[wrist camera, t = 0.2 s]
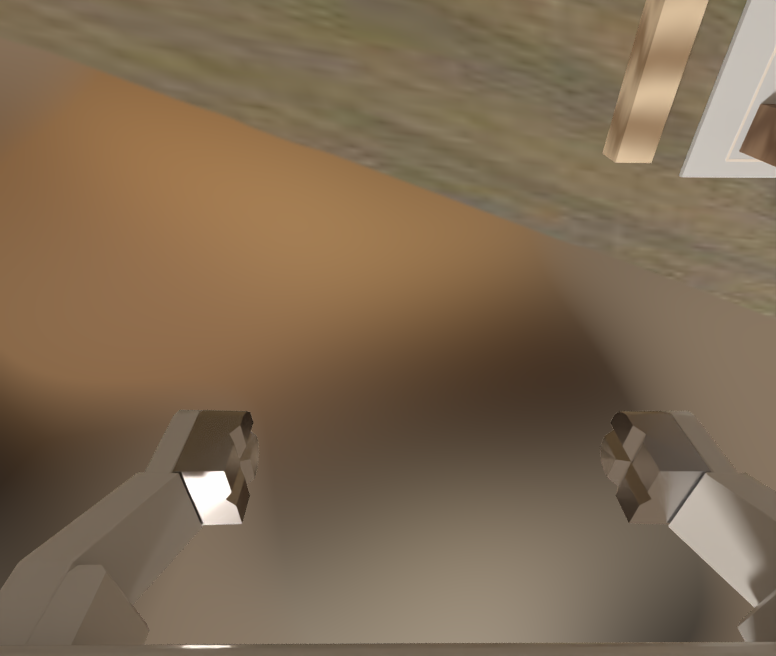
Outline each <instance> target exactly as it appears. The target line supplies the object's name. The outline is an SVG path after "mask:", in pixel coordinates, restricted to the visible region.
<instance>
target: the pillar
mask: <svg viewBox="0 0 776 656" xmlns="http://www.w3.org/2000/svg"><path fill="white" fill-rule="evenodd" d="M739 152H741V153H744V154H746V155H748V156H751V157H753V158H756V159H758V160H760V161H763V162H765V163H767V164H770V165H772V166H775V167H776V104H760V106H759V108H758V110H757V113H756V115H755V117H754V119H753V121H752V124H751V126H750V128H749V130H748V132H747V135H746V137H745V139H744V141H743V143H742V146H741V148H740V150H739Z"/></svg>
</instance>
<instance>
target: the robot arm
mask: <svg viewBox="0 0 776 656" xmlns="http://www.w3.org/2000/svg"><path fill="white" fill-rule="evenodd" d="M252 425H253V420H252V416H251V413H250V412H248V411H216V410H215V411H214V410H179V411H178V412H177V413H176V414H175V415H174V416H173V418H172V420H171V422H170V424H169V426H168V428H167V430H166V431H165V434H164V435H163V437H162V439H161V441H160V443H159V445H158V447H157V449H156V451H155V453H154V455H153V457H152V459H151V461H150V463H149V465H148V466H147V468H146V470H145V472H144V473H137V474H135V475H134V476H132V477H131V478H130V479H128V480H127V481H126V482H124V483H123V484H122V485H121V486H119V487H118V488H116V489H115V490H114V491H112V492H111V493H110V494H109V495H107V496H106V497H105V498H103V499H102V500H101V501H99V502H98V503H97V504H95V505H94V506H93V507H91V508H90V509H89V510H87V511H86V512H85V513H83V514H82V515H81V516H79V517H78V518H77V519H75V520H74V521H73V522H72V523H70V524H69V525H68V526H66V527H65V528H63V529H62V530H61V531H59V532H58V533H57V534H56V535H54V536H53V537H52V538H50V539H49V540H48V541H46V542H45V543H44V544H42V545H41V546H40V547H38V548H37V549H36V550H34V551H33V552H32V553H31V554H29V555H28V556H26V557H25V558H24V559H23V560H21V561H20V562H19V563H18V564H17V566H16V567H15V569H14V570H13V572H12V573H11V575H10V576H9V578H8V579H7V581H6V582H5V584H4V586H3V587H2V588H1V590H0V656H776V492H775V491H774V490H772V489H771V488H769V487H768V486H766V485H764V484H763V483H761V482H760V481H758V480H756V479H755V478H753V477H752V476H750V475H748V474H747V473H738V471H737V470H736V469H735V468H734V466H733V465H732V464H731V462H730V461H729V460H728V458H727V457H726V455H725V454H724V453H723V451H722V450H721V449H720V448H719V446H718V445H717V444H716V442H715V441H714V440H713V438H712V437H711V436H710V434H709V433H708V432H707V431H706V429H705V428H704V426H703V425H702V424H701V423H700V421H699V420H698V419H697V417H696V416H695V415H694V414H692V413H691V412H689V411H619V412H617V413H616V414H615V415H614V416H613V418H612V420H611V425H612V427H613V429H614V430H613V431H611V432H610V433H608V434H607V435H605V436H604V438H603V441H602V444H601V448H600V451H601V452H600V458H601V462H602V467H603V469H604V471H605V473H606V476H607V478H608V479H610V480H611V481H612V482H613V483H615V484H616V485H617V486H618V489H617V493H616V497H617V499H618V501H619V504H620V506H621V508H622V510H623V512H624V514H625V516H626V518H627V520H628V522H629V523H637V524H638V523H639V524H640V523H641V524H669V526H668V527H669V528H671V529H672V530H673V531H674V532H675V533H676V534H677V535H678V536H679V537H680V538H681V539H682V540H683V541H685V543H686V544H688V545H689V546H690V547H691V548H692V549H693V550H694V551H695V552H696V553H697V554H698V555H699V556H700V557H701V558H702V559H703V560H705V561H706V562H707V563H708V564H709V565H710V566H711V567H712V568H713V569H714V570H715V571H716V572H717V573H718V574H720V575H721V577H723V578H724V579H725V580H726V581H727V582H728V583H729V584H730V585H731V586H732V587H733V588H734V589H735V590H737V592H738V593H740V594H741V595H742V596H743V597H744V598H745V599H746V600H747V601H748V602H749V603H750V604H751V605H753V607H755V608H754V609H753V610H752V611H750V612H749V613H748V614H747V615H746V616H745V617H744V618H742V619H741V620H740V623H739V625H738V629H739V631H740V633H741V634H742V636H743V638H744V640H745V642H673V643H672V642H664V643H663V642H660V643H659V642H655V643H654V642H652V643H650V642H649V643H648V642H647V643H646V642H644V643H416V644H415V643H407V644H406V643H396V644H395V643H394V644H393V643H391V644H390V643H387V644H386V643H384V644H174V645H173V644H167V645H164V644H163V645H162V644H159V645H144V644H145V641H146V638H147V635H148V633H149V628H148V626H147V623H146V622H145V621H144V619H143V618H142V617H141V616H140V614H139V613H138V612H137V610H136V609H135V608H134V606H133V604H134V603H135V602H136V601H137V600H138V599H139V598H140V597H141V595H142V594H143V593H144V592H145V591H146V590H147V589H148V588H149V586H150V585H151V584H152V583H153V582H154V581H155V580H156V579H157V578H158V576H159V575H160V574H161V573H162V572H163V571H164V570H165V569H166V567H167V566H168V565H169V564H170V563H171V562H172V561H173V560H174V558H175V557H176V556H177V555H178V554H179V553H180V552H181V550H183V548H184V547H185V546H186V545H187V544H188V543H189V542H190V541H191V539H192V538H193V537H194V536H195V535H196V534H197V533H198V532H199V530H200V529H201V528H202V525H219V524H242V522H243V519H244V515H245V512H246V508H247V504H248V501H249V497H250V494H249V491H248V488H247V484H249V482H251V481H252V480H253V479H254V478H255V475H256V471H257V467H258V458H259V444H258V439H257V436H256V435H255V434H254V433H252V432H251V429H252Z"/></svg>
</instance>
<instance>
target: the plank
mask: <svg viewBox="0 0 776 656" xmlns="http://www.w3.org/2000/svg"><path fill="white" fill-rule="evenodd" d="M707 3H708V0H646V3H645V6H644V10H643V13H642V17H641V20H640V24H639V27H638V31H637V34H636V38H635V41H634V45H633V48H632V52H631V55H630V59H629V62H628V66H627V69H626V73H625V76H624V80H623V83H622V87H621V90H620V94H619V97H618V101H617V104H616V108H615V111H614V115H613V118H612V122H611V125H610V129H609V132H608V136H607V139H606V143H605V146H604V150H603V154H604V155H605V156H607V157H608V158H610V159H611V160H613V161H614V162H616V163H651V162H652V160H653V157H654V154H655V151H656V148H657V145H658V142H659V140H660V137H661V134H662V131H663V128H664V125H665V123H666V120H667V117H668V114H669V111H670V108H671V106H672V103H673V100H674V97H675V94H676V91H677V88H678V86H679V83H680V80H681V77H682V74H683V71H684V69H685V66H686V63H687V60H688V57H689V54H690V52H691V49H692V46H693V43H694V40H695V37H696V35H697V32H698V29H699V26H700V23H701V20H702V17H703V15H704V12H705V9H706V6H707Z"/></svg>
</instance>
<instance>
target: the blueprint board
mask: <svg viewBox="0 0 776 656" xmlns="http://www.w3.org/2000/svg"><path fill="white" fill-rule="evenodd" d="M760 104H776V0H747V2H746V5H745V7H744V10H743V13H742V15H741V18H740V20H739V23H738V25H737V28H736V31H735V33H734V36H733V38H732V41H731V43H730V46H729V49H728V51H727V54H726V56H725V59H724V61H723V64H722V66H721V69H720V72H719V74H718V77H717V79H716V82H715V84H714V87H713V90H712V92H711V95H710V97H709V100H708V102H707V105H706V108H705V110H704V113H703V115H702V118H701V120H700V123H699V125H698V128H697V131H696V133H695V136H694V138H693V141H692V143H691V146H690V149H689V151H688V154H687V156H686V159H685V161H684V164H683V167H682V169H681V172H680V174H679V176H680V177H736V178H776V167H775V166H772V165H770V164H767V163H765V162H763V161H760V160H758V159H756V158H753V157H751V156H748V155H746V154H744V153H741V152H739V150H740V148H741V146H742V143H743V141H744V139H745V137H746V135H747V132H748V130H749V128H750V126H751V124H752V121H753V119H754V117H755V115H756V113H757V110H758V108H759V106H760Z"/></svg>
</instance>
